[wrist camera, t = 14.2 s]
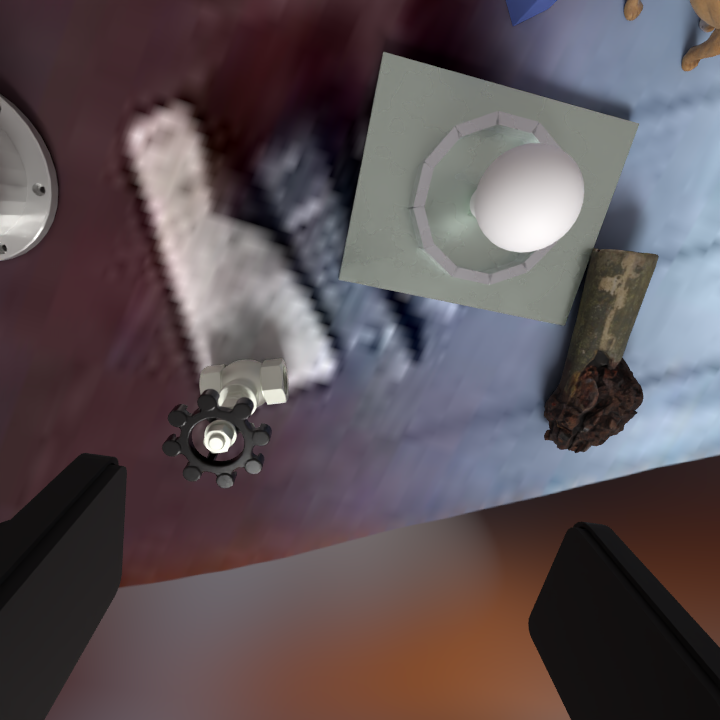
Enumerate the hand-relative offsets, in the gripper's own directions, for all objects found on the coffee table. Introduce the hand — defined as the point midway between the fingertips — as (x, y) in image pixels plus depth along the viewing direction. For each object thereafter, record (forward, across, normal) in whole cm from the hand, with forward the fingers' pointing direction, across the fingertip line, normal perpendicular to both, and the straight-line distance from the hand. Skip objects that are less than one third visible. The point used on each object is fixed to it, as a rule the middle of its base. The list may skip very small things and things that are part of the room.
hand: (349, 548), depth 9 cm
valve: (+29, +6, +8) cm, 30 cm away
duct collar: (+28, -10, -10) cm, 32 cm away
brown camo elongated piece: (+29, -24, 0) cm, 37 cm away
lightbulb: (+27, -10, -10) cm, 31 cm away
